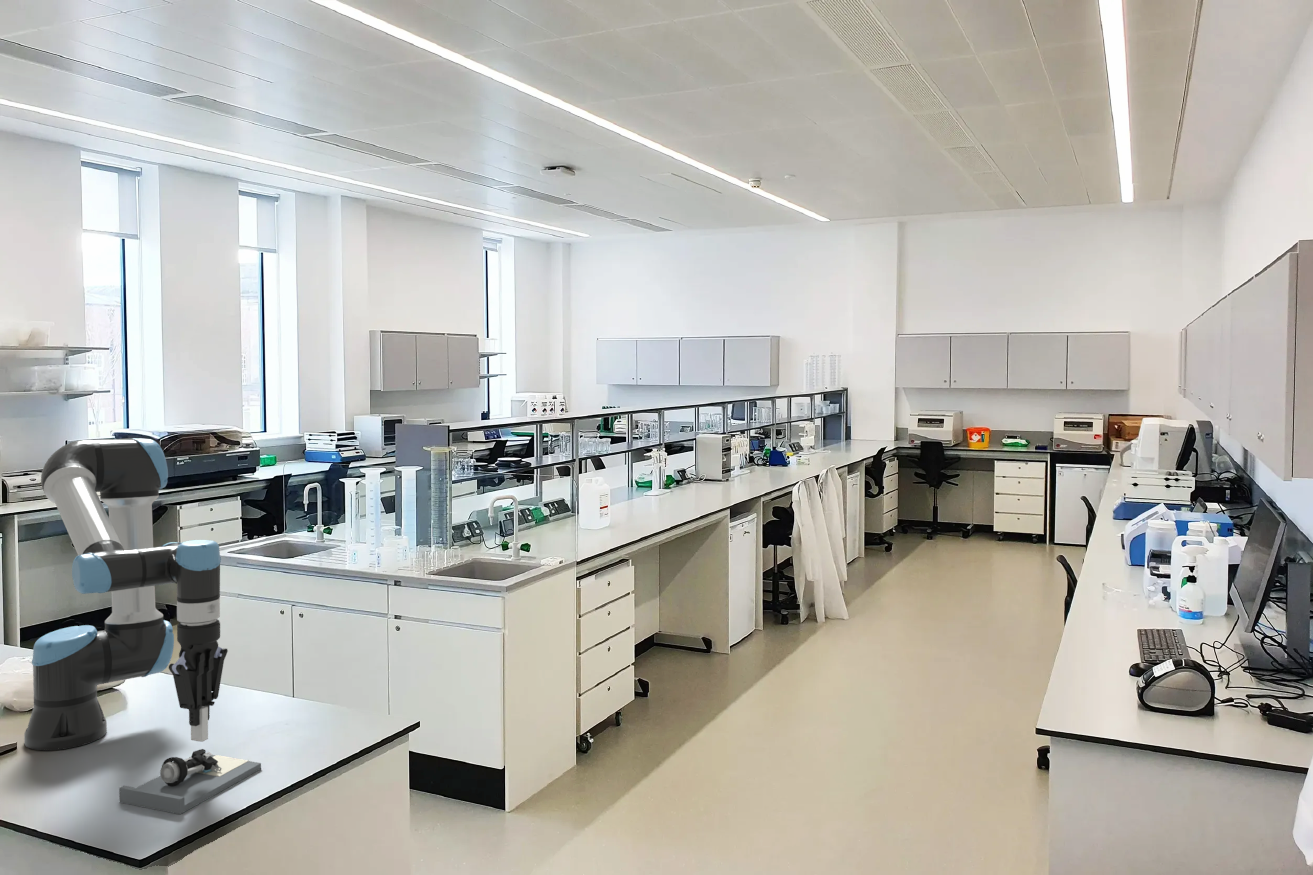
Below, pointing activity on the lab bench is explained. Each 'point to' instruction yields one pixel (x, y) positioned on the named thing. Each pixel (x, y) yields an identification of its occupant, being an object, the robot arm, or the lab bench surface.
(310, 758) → the lab bench surface
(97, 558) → the robot arm
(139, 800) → the grey lipped board
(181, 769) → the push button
